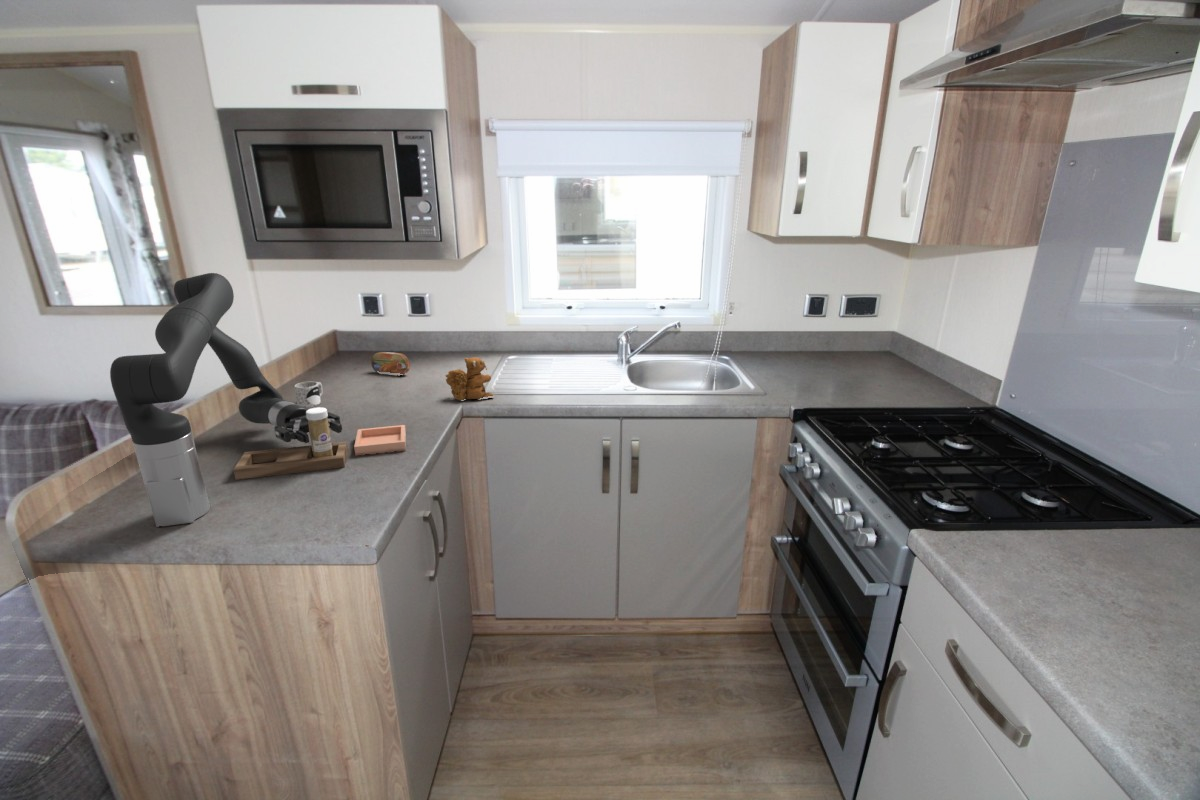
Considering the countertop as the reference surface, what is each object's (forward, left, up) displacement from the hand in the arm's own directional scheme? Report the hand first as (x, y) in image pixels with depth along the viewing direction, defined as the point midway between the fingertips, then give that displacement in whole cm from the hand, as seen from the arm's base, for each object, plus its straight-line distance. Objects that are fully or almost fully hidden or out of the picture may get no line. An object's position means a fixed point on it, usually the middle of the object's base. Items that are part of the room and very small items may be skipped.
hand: (324, 433), depth 136 cm
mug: (+49, +10, -8) cm, 50 cm away
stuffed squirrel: (+40, -38, -8) cm, 56 cm away
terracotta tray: (+9, -12, -8) cm, 17 cm away
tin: (+75, -13, -8) cm, 76 cm away
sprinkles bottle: (+2, +1, -8) cm, 8 cm away
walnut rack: (+2, +8, -8) cm, 11 cm away
